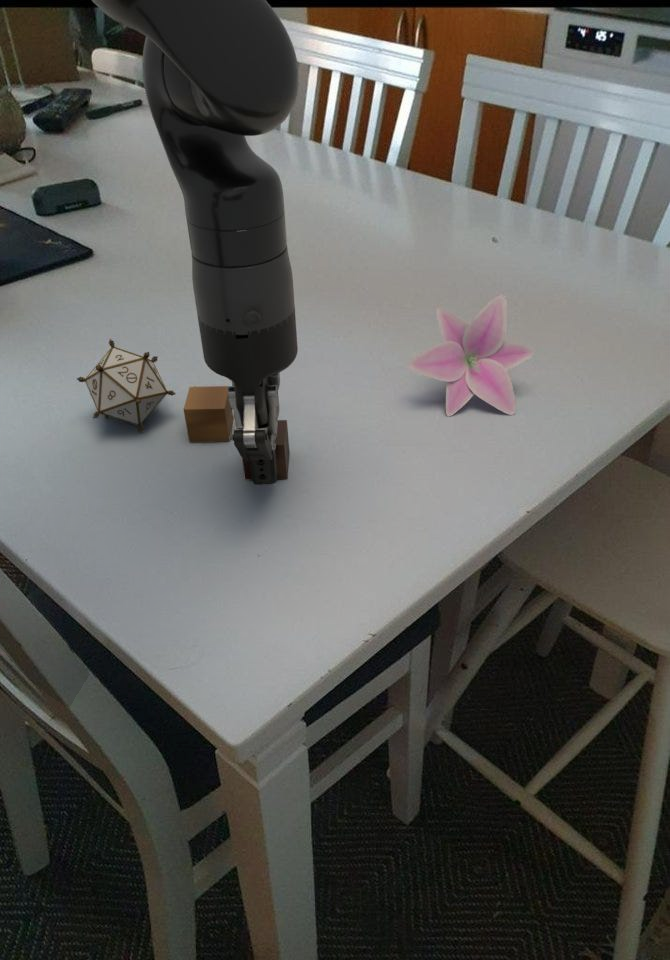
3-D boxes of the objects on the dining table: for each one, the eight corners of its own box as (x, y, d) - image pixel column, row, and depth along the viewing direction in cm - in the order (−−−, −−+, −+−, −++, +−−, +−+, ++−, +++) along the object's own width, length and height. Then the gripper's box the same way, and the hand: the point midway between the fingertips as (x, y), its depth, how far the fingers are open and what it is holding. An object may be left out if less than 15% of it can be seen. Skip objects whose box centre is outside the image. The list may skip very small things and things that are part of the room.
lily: (388, 408, 86) (407, 362, 77) (425, 323, 90) (447, 271, 81) (493, 452, 85) (524, 412, 76) (525, 365, 90) (557, 316, 81)
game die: (159, 442, 87) (205, 379, 82) (99, 459, 80) (145, 391, 74) (110, 381, 88) (152, 315, 83) (47, 393, 81) (88, 322, 76)
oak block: (189, 442, 80) (183, 409, 78) (195, 419, 84) (189, 386, 81) (229, 441, 80) (224, 408, 78) (233, 418, 83) (229, 385, 81)
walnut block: (244, 480, 76) (240, 446, 73) (248, 454, 79) (244, 420, 76) (287, 479, 75) (284, 445, 73) (289, 453, 79) (286, 419, 76)
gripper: (208, 268, 67) (231, 437, 78) (183, 348, 57) (214, 530, 68) (298, 266, 67) (308, 435, 78) (290, 346, 57) (303, 528, 68)
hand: (264, 479), depth 73 cm, fingers closed
